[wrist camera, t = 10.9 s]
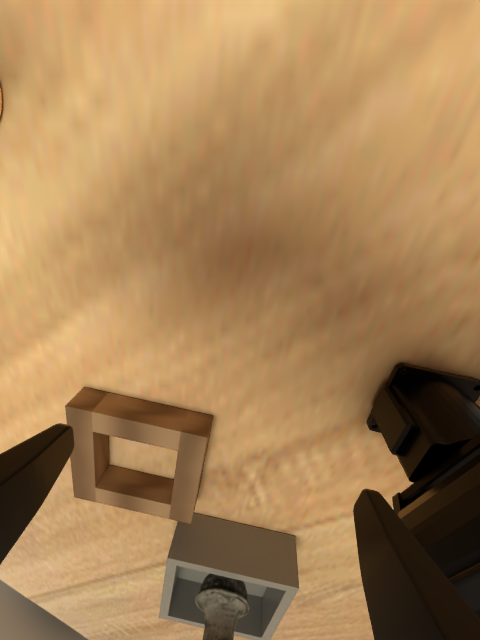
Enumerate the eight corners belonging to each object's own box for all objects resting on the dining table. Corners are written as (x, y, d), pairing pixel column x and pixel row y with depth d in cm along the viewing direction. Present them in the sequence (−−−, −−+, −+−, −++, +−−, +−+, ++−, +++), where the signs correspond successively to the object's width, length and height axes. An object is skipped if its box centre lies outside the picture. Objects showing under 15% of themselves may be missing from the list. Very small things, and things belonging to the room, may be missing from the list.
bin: (295, 536, 30) (299, 588, 26) (268, 592, 36) (268, 643, 32) (181, 509, 31) (167, 557, 27) (171, 570, 36) (158, 617, 32)
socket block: (213, 415, 25) (207, 437, 22) (197, 499, 30) (190, 523, 27) (84, 386, 25) (65, 405, 23) (89, 474, 30) (74, 497, 28)
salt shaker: (254, 554, 31) (246, 748, 20) (249, 581, 33) (239, 768, 22) (203, 545, 31) (167, 731, 20) (201, 572, 34) (168, 752, 23)
